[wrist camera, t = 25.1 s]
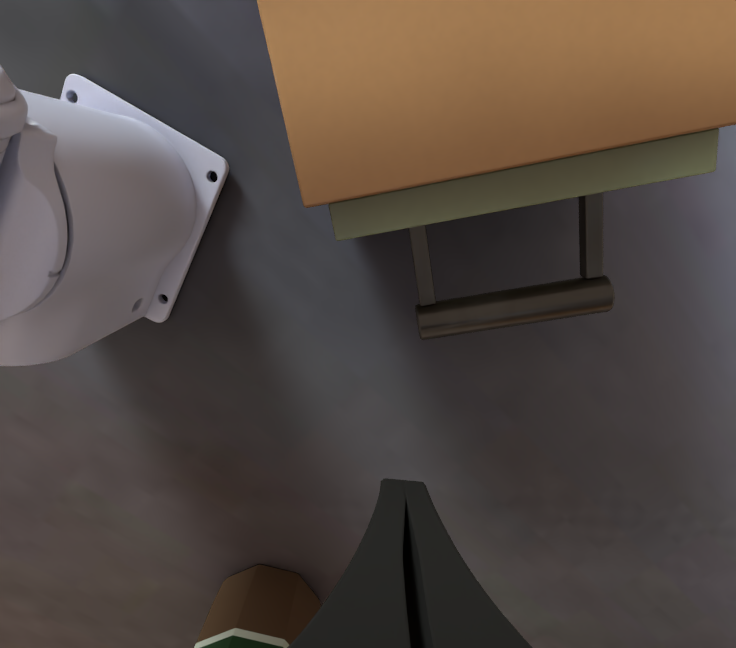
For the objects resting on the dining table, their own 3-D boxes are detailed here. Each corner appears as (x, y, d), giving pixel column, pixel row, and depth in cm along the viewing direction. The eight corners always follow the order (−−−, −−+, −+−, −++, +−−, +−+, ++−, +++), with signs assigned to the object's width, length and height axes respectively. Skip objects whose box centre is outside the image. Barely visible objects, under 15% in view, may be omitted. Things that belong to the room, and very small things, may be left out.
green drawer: (601, 273, 20) (704, 316, 13) (370, 311, 21) (362, 367, 14) (599, -213, 14) (774, -541, 8) (287, -123, 15) (213, -343, 9)
